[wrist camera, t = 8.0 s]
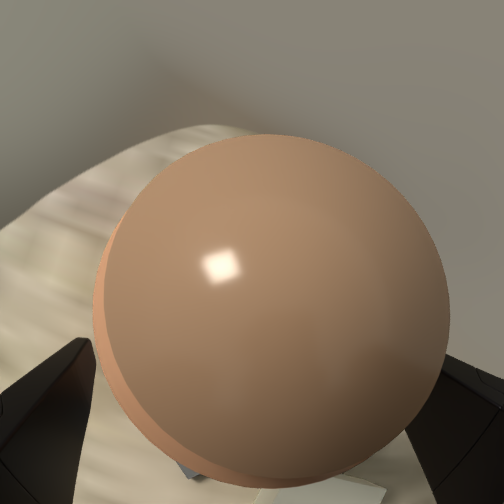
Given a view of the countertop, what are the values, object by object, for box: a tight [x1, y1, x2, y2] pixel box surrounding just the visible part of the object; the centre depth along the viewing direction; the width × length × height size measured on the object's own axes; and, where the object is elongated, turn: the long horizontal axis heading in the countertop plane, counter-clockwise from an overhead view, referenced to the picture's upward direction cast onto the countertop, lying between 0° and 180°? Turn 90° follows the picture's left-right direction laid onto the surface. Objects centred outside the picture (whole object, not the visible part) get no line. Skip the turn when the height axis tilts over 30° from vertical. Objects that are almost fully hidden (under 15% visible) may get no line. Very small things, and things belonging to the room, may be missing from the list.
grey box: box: [253, 474, 387, 504], centre depth 13 cm, size 6×4×3 cm, turn 66°
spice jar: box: [93, 134, 450, 489], centre depth 10 cm, size 6×6×14 cm
